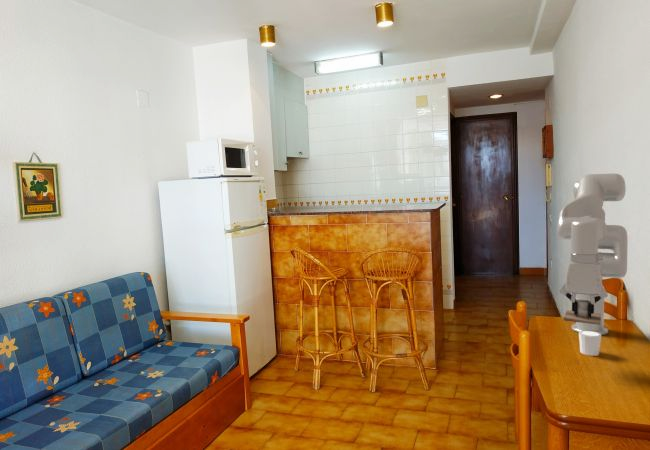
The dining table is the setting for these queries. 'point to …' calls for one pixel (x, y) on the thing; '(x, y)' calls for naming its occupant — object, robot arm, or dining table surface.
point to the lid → (583, 314)
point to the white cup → (589, 342)
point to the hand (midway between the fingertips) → (582, 314)
